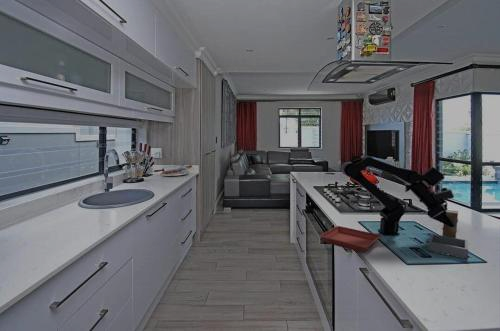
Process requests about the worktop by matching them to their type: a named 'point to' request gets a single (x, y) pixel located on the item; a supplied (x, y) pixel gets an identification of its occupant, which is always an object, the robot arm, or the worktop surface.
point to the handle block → (453, 224)
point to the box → (448, 245)
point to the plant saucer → (350, 238)
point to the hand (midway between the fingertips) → (453, 224)
